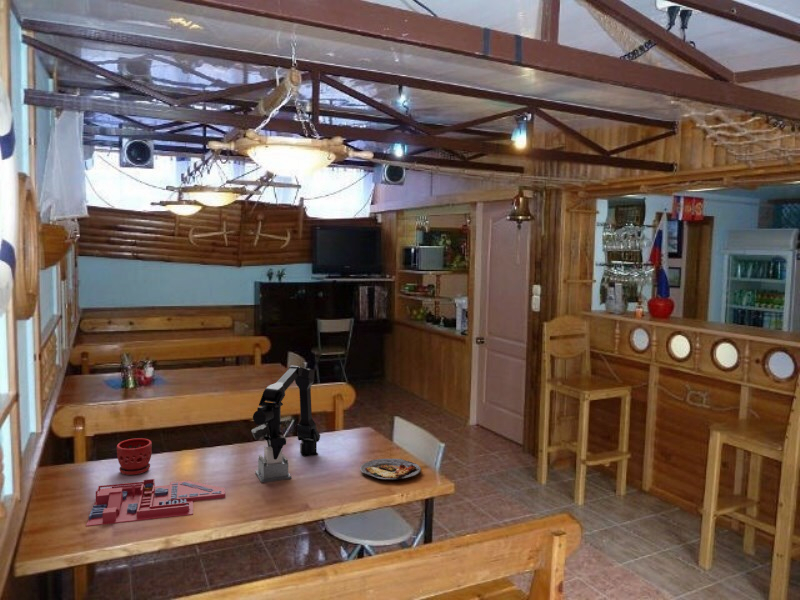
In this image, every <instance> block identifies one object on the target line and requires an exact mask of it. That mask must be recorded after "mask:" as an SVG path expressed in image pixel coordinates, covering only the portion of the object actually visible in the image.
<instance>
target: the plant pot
mask: <svg viewBox="0 0 800 600" xmlns="http://www.w3.org/2000/svg"><path fill="white" fill-rule="evenodd" d="M129 446H131V447H129ZM135 447H136V448H135ZM152 447H153V445H152V440H150V439H148V438H142V437H140V438H139V437H138V438H130V439H125V440H122V441H119V443H118V444H117V445H116V457H117V460H118V464H119V465H120V466H119V468H118V469H119V472H120V473H122V474H123V475H128V476H134V475H135V476H136V475H141V474H143V473H145V472H148V471H149V469H150V468H151V463H150V461H151V458H152V453H153V451H152Z"/></svg>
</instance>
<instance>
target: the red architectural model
mask: <svg viewBox="0 0 800 600" xmlns="http://www.w3.org/2000/svg"><path fill="white" fill-rule="evenodd" d="M223 498H226V489H225V487H220V486H216V485H210V484H206V483H200V482H196V481H192V480H181V481H180V480H179V481H178V480H177V481H170V482H169V484H167V485H156V482H155V479H154V478H150V479H143V481H137V482H128V483H127V482H126V483H115V484H105V485H103V484H102V485H98V486H97V490H96V491H95V502H94V504H93V505H92V507H91V511H90V513H89V515H88V521H87V523H86V525H85V527H92V526H93V527H94V526H101V525H110V524H111V525H113V524H120V523H130V522H131V523H132V522H139V521H148V520H156V519H165V518H166V519H167V518H176V517H184V516H192V515H194V502H195V501H204V500H205V501H206V500H213V499H223Z"/></svg>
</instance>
